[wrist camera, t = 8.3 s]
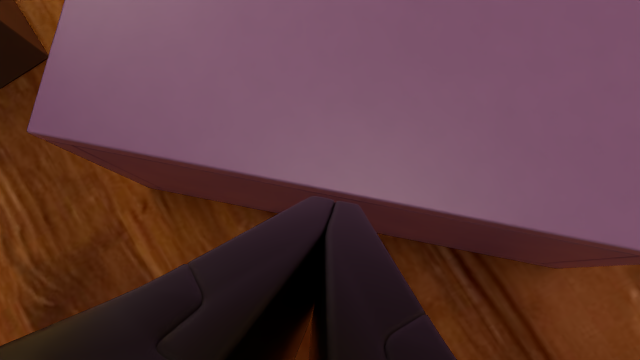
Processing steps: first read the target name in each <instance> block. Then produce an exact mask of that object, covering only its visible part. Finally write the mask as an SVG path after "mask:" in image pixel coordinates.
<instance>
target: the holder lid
mask: <svg viewBox="0 0 640 360" xmlns="http://www.w3.org/2000/svg"><path fill="white" fill-rule="evenodd" d="M27 132H28V133H30V134H32V135H34V136H36V137H38V138H40V139H44V140H50V141H55V142H60V143H65V144H70V145H75V146H80V147H85V148H91V149H96V150H101V151H106V152H111V153H116V154H121V155H127V156H132V157H137V158H142V159H147V160H152V161H157V162H163V163H168V164H173V165H178V166H183V167H188V168H193V169H198V170H204V171H209V172H214V173H219V174H224V175H229V176H234V177H240V178H245V179H250V180H255V181H260V182H265V183H270V184H275V185H281V186H286V187H291V188H296V189H301V190H306V191H311V192H317V193H322V194H327V195H332V196H337V197H342V198H347V199H353V200H358V201H363V202H368V203H373V204H378V205H383V206H388V207H394V208H399V209H404V210H409V211H414V212H419V213H424V214H430V215H435V216H440V217H445V218H450V219H455V220H460V221H465V222H471V223H476V224H481V225H486V226H491V227H496V228H501V229H507V230H512V231H517V232H522V233H527V234H532V235H537V236H543V237H548V238H553V239H558V240H563V241H568V242H573V243H578V244H584V245H589V246H594V247H599V248H604V249H609V250H614V251H620V252H625V253H630V254H635V255H640V0H65V2H64V5H63V9H62V12H61V16H60V19H59V22H58V26H57V29H56V33H55V36H54V39H53V43H52V46H51V50H50V53H49V56H48V60H47V63H46V67H45V70H44V73H43V77H42V80H41V84H40V87H39V90H38V94H37V97H36V101H35V104H34V107H33V111H32V114H31V118H30V121H29V124H28V128H27Z"/></svg>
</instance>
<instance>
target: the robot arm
mask: <svg viewBox="0 0 640 360" xmlns="http://www.w3.org/2000/svg"><path fill="white" fill-rule="evenodd" d="M313 308H314V310H313ZM312 312H313V316H312V325H311V337H310V349H309V360H457V359H456V358H455V356H454V355H453V354H452V352H451V351H450V349H449V348H448V346H447V345H446V343H445V342H444V340H443V339H442V337H441V336H440V334H439V333H438V331H437V330H436V328H435V326H434V325H433V323H432V322H431V320H430V318H429V317H428V315H426V314H425V312H424V310H423V308H422V307H421V305H420V303H419V302H418V300H417V298H416V297H415V295H414V294H413V292H412V290H411V289H410V287H409V285H408V284H407V282H406V280H405V279H404V277H403V276H402V274H401V272H400V271H399V269H398V267H397V266H396V264H395V263H394V261H393V259H392V258H391V256H390V254H389V253H388V251H387V249H386V248H385V246H384V245H383V243H382V241H381V240H380V238H379V236H378V235H377V233H376V231H375V230H374V228H373V227H372V225H371V223H370V222H369V220H368V218H367V217H366V215H365V214H364V212H363V210H362V209H361V207H360V206H359V205H358V204H354V203H348V202H343V201H337V202H336V203H335V202H334V201H333V200H332V199H328V198H323V197H318V196H311V197H309V198H307V199H305V200H303V201H301V202H299V203H298V204H296V205H294V206H292V207H290V208H288V209H287V210H285V211H283V212H281V213H279V214H277V215H275V216H274V217H272V218H270V219H268V220H266V221H264V222H263V223H261V224H259V225H257V226H255V227H253V228H252V229H250V230H248V231H246V232H244V233H242V234H240V235H239V236H237V237H235V238H233V239H231V240H229V241H228V242H226V243H224V244H222V245H220V246H218V247H216V248H215V249H213V250H211V251H209V252H207V253H205V254H204V255H202V256H200V257H198V258H196V259H194V260H192V261H191V262H189V263H188V264H183V265H182V266H180V267H178V268H176V269H174V270H172V271H170V272H169V273H167V274H165V275H163V276H161V277H159V278H157V279H155V280H153V281H151V282H149V283H147V284H145V285H143V286H141V287H139V288H137V289H134V290H132V291H130V292H127V293H125V294H123V295H121V296H118V297H116V298H114V299H112V300H109V301H107V302H105V303H102V304H100V305H98V306H95V307H93V308H90V309H88V310H86V311H83V312H81V313H78V314H76V315H74V316H71V317H69V318H66V319H64V320H62V321H59V322H57V323H54V324H52V325H50V326H47V327H45V328H43V329H40V330H38V331H35V332H33V333H31V334H28V335H26V336H23V337H21V338H19V339H16V340H14V341H11V342H9V343H7V344H4V345H2V346H0V360H294V359H295V356H296V354H297V351H298V349H299V347H300V344H301V342H302V339H303V337H304V334H305V332H306V329H307V326H308V324H309V321H310V318H311V315H312Z"/></svg>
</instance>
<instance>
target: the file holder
mask: <svg viewBox="0 0 640 360" xmlns="http://www.w3.org/2000/svg"><path fill="white" fill-rule="evenodd" d="M46 141H48V142H50V143H52V144H54V145H56V146H59V147H61V148H63V149H65V150H67V151H70V152H72V153H74V154H76V155H78V156H81V157H83V158H85V159H87V160H89V161H92V162H94V163H96V164H98V165H100V166H103V167H105V168H107V169H109V170H111V171H114V172H116V173H118V174H120V175H122V176H125V177H127V178H129V179H131V180H133V181H135V182H138V183H140V184H142V185H144V186H146V187H148V188H153V189H158V190H163V191H168V192H173V193H178V194H184V195H189V196H194V197H199V198H204V199H209V200H214V201H219V202H224V203H229V204H234V205H239V206H244V207H249V208H254V209H259V210H264V211H269V212H274V213H281V212H283V211H285V210H287V209H288V208H290V207H292V206H294V205H296V204H298V203H299V202H301V201H303V200H305V199H307V198H309V197H311V196H318V197H323V198H328V199H332V200H333V201H334V202H335V203H336V202H337V201H343V202H348V203H354V204H358V205H359V206H360V207H361V209H362V210H363V212H364V214H365V215H366V217H367V218H368V220H369V222H370V223H371V225H372V227H373V228H374V230H375V231H376V233H380V234H385V235H390V236H395V237H400V238H405V239H410V240H415V241H420V242H425V243H430V244H435V245H440V246H445V247H450V248H455V249H460V250H465V251H470V252H475V253H480V254H485V255H490V256H495V257H500V258H506V259H511V260H516V261H521V262H526V263H531V264H536V265H541V266H546V267H551V268H573V267H594V266H615V265H636V264H640V255H635V254H630V253H625V252H620V251H614V250H609V249H604V248H599V247H594V246H589V245H584V244H578V243H573V242H568V241H563V240H558V239H553V238H548V237H543V236H537V235H532V234H527V233H522V232H517V231H512V230H507V229H501V228H496V227H491V226H486V225H481V224H476V223H471V222H465V221H460V220H455V219H450V218H445V217H440V216H435V215H430V214H424V213H419V212H414V211H409V210H404V209H399V208H394V207H388V206H383V205H378V204H373V203H368V202H363V201H358V200H353V199H347V198H342V197H337V196H332V195H327V194H322V193H317V192H311V191H306V190H301V189H296V188H291V187H286V186H281V185H275V184H270V183H265V182H260V181H255V180H250V179H245V178H240V177H234V176H229V175H224V174H219V173H214V172H209V171H204V170H198V169H193V168H188V167H183V166H178V165H173V164H168V163H163V162H157V161H152V160H147V159H142V158H137V157H132V156H127V155H121V154H116V153H111V152H106V151H101V150H96V149H91V148H85V147H80V146H75V145H70V144H65V143H60V142H55V141H50V140H46Z"/></svg>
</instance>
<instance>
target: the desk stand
mask: <svg viewBox="0 0 640 360" xmlns="http://www.w3.org/2000/svg"><path fill="white" fill-rule="evenodd" d="M47 58H48V54H47V53H46V51H45V50H44V48H43V46H42V45H41V43H40V42H39V40H38V38H37V37H36V35H35V33H34V32H33V30H32V29H31V27H30V25H29V24H28V22H27V21H26V19H25V17H24V16H23V14H22V13H21V11H20V9H19V8H18V6H17V4H16V3H15V1H14V0H0V88H2V87H3V86H5V85H6V84H8V83H9V82H11V81H12V80H14V79H16V78H17V77H19V76H20V75H22V74H23V73H25V72H27V71H28V70H30V69H31V68H33V67H34V66H36V65H37V64H39V63H41V62H42V61H44V60H45V59H47Z"/></svg>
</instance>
